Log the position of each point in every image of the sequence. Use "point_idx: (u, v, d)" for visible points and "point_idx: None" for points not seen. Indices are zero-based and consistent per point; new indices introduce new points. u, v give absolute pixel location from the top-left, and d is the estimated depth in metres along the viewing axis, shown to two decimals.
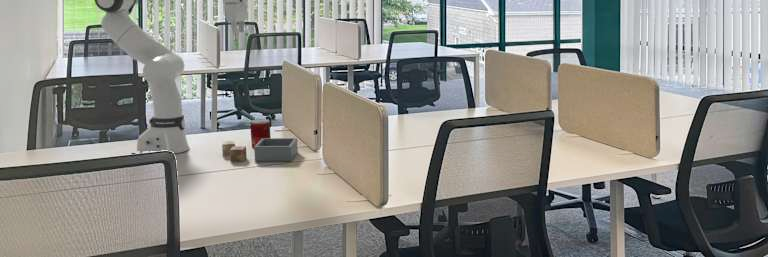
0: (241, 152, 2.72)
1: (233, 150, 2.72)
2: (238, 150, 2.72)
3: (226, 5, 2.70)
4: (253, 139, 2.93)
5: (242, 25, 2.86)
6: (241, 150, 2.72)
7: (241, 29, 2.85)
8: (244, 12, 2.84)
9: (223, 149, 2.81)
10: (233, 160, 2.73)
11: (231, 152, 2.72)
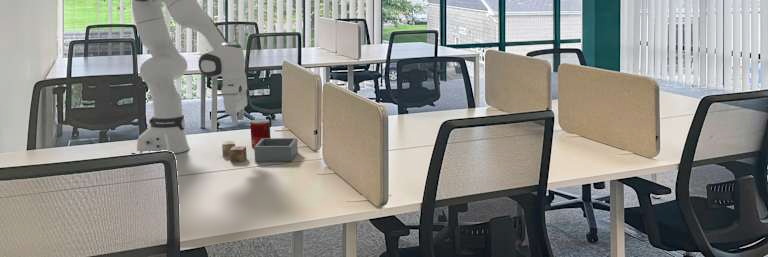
0: (241, 152, 2.72)
1: (233, 150, 2.72)
2: (238, 150, 2.72)
3: (225, 97, 2.61)
4: (253, 139, 2.93)
5: (242, 112, 2.77)
6: (241, 150, 2.72)
7: (241, 116, 2.76)
8: (244, 99, 2.75)
9: (223, 149, 2.81)
10: (233, 160, 2.73)
11: (231, 152, 2.72)
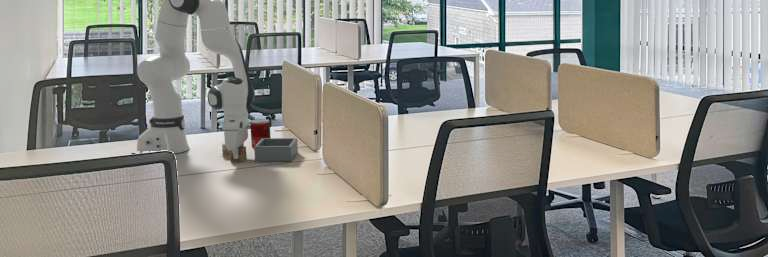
0: (241, 152, 2.72)
1: None
2: (238, 150, 2.72)
3: (226, 132, 2.64)
4: (253, 139, 2.93)
5: None
6: (241, 150, 2.72)
7: None
8: (244, 133, 2.77)
9: (223, 149, 2.81)
10: (233, 160, 2.73)
11: (231, 152, 2.72)
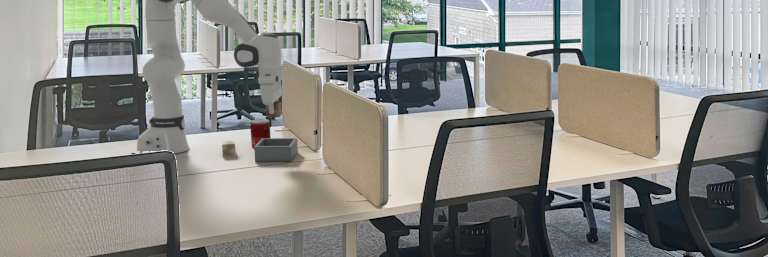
0: (277, 107, 2.71)
1: None
2: (274, 105, 2.71)
3: (262, 86, 2.63)
4: (253, 139, 2.93)
5: None
6: (277, 105, 2.71)
7: None
8: (279, 89, 2.77)
9: (223, 149, 2.81)
10: (269, 115, 2.72)
11: (267, 107, 2.71)
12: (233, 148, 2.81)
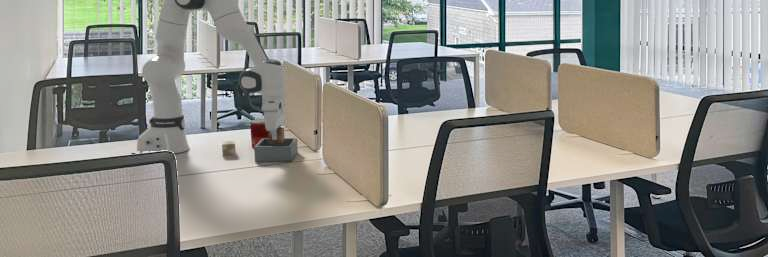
0: (280, 133, 2.74)
1: None
2: (277, 131, 2.74)
3: (265, 113, 2.66)
4: (253, 139, 2.93)
5: None
6: (280, 131, 2.73)
7: None
8: (282, 115, 2.79)
9: (223, 149, 2.81)
10: (272, 141, 2.74)
11: (270, 133, 2.74)
12: (233, 148, 2.81)
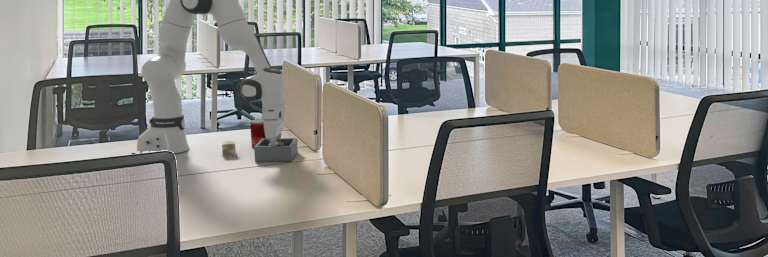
0: None
1: None
2: (277, 145, 2.75)
3: (265, 122, 2.66)
4: (253, 139, 2.93)
5: (279, 136, 2.82)
6: (280, 145, 2.75)
7: (278, 140, 2.81)
8: (282, 123, 2.80)
9: (223, 149, 2.81)
10: None
11: None
12: (233, 148, 2.81)
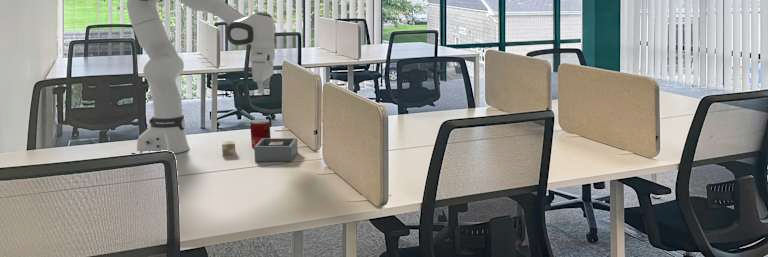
0: None
1: (272, 145, 2.75)
2: (277, 145, 2.75)
3: (253, 64, 2.68)
4: (253, 139, 2.93)
5: (267, 81, 2.84)
6: (280, 145, 2.75)
7: (266, 85, 2.83)
8: (270, 68, 2.82)
9: (223, 149, 2.81)
10: None
11: None
12: (233, 148, 2.81)
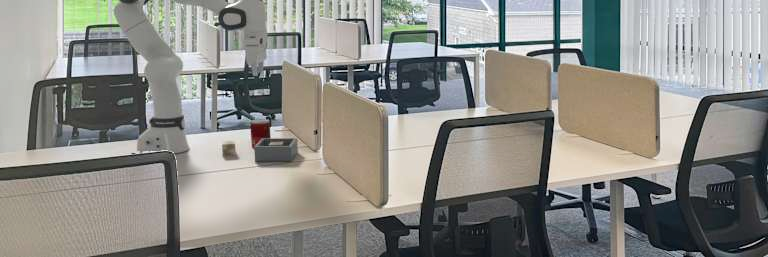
0: None
1: (272, 145, 2.75)
2: (277, 145, 2.75)
3: (246, 47, 2.72)
4: (253, 139, 2.93)
5: (261, 65, 2.87)
6: (280, 145, 2.75)
7: (260, 69, 2.86)
8: (263, 52, 2.85)
9: (223, 149, 2.81)
10: None
11: None
12: (233, 148, 2.81)
